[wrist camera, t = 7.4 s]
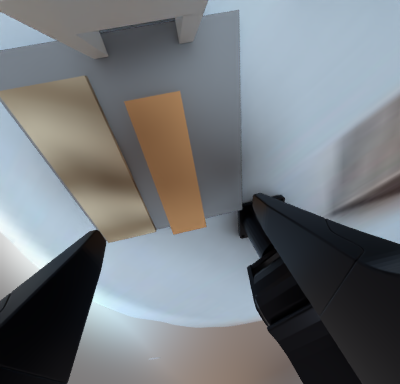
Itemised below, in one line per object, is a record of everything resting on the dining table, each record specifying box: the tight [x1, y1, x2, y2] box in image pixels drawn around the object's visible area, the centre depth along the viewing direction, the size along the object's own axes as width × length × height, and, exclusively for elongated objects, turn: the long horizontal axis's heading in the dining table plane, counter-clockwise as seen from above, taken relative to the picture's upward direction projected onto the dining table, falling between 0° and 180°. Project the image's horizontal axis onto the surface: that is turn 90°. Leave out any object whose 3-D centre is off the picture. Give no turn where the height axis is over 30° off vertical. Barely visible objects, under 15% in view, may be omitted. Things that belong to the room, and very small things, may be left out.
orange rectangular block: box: [124, 91, 206, 234], centre depth 14 cm, size 12×4×4 cm, turn 9°
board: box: [0, 10, 242, 241], centre depth 15 cm, size 18×18×1 cm
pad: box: [0, 76, 156, 243], centre depth 15 cm, size 16×6×1 cm, turn 9°
